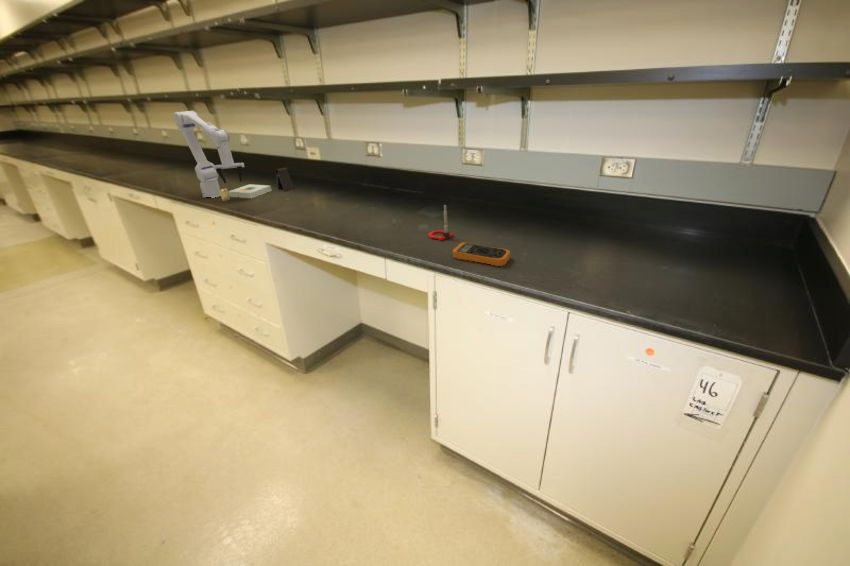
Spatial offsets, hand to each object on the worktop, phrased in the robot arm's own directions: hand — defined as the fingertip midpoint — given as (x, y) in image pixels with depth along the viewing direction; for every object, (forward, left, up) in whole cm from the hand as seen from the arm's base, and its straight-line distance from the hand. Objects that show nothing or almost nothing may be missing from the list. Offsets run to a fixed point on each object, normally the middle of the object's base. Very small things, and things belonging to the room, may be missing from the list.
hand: (233, 182), depth 195 cm
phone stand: (+12, +25, -10) cm, 29 cm away
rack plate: (-2, +12, -10) cm, 15 cm away
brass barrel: (-6, -2, -10) cm, 12 cm away
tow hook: (+124, -20, -10) cm, 126 cm away
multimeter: (+144, -35, -10) cm, 148 cm away
